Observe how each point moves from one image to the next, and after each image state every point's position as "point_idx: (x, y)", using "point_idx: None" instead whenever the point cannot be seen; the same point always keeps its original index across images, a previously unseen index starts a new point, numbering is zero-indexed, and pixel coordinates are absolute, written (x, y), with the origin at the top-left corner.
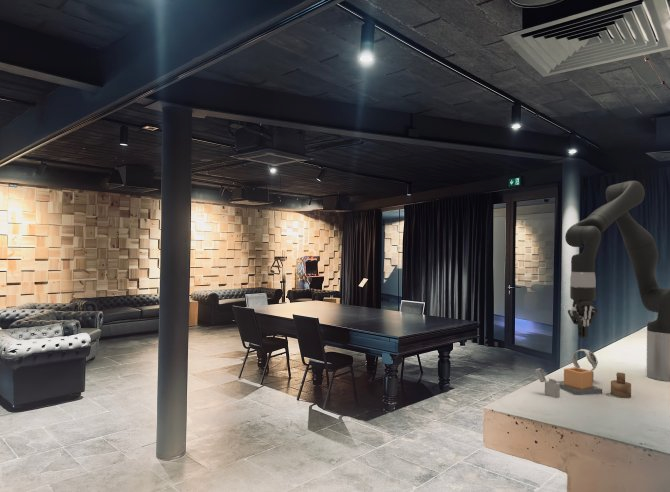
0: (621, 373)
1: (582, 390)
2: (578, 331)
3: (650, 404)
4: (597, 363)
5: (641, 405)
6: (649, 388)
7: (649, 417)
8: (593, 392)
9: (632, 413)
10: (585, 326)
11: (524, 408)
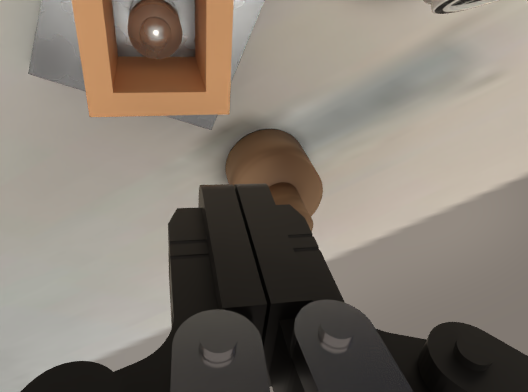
0: None
1: (85, 90)
2: (171, 255)
3: None
4: (479, 5)
5: None
6: (478, 156)
7: (89, 331)
8: None
9: (68, 299)
10: (273, 373)
11: None
